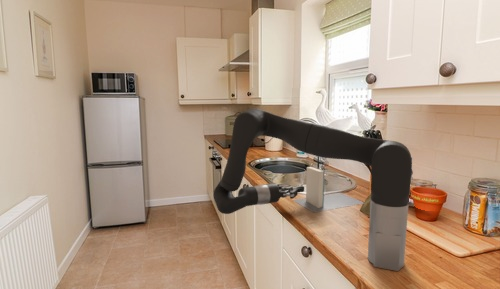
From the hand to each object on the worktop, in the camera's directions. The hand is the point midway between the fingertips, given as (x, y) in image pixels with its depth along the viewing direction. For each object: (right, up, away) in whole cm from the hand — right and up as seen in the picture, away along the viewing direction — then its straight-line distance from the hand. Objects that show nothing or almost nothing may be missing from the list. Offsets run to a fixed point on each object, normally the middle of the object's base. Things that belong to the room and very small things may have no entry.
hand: (303, 188), depth 122 cm
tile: (+5, -7, +3) cm, 9 cm away
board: (+12, -8, +6) cm, 15 cm away
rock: (+25, -10, -9) cm, 28 cm away
